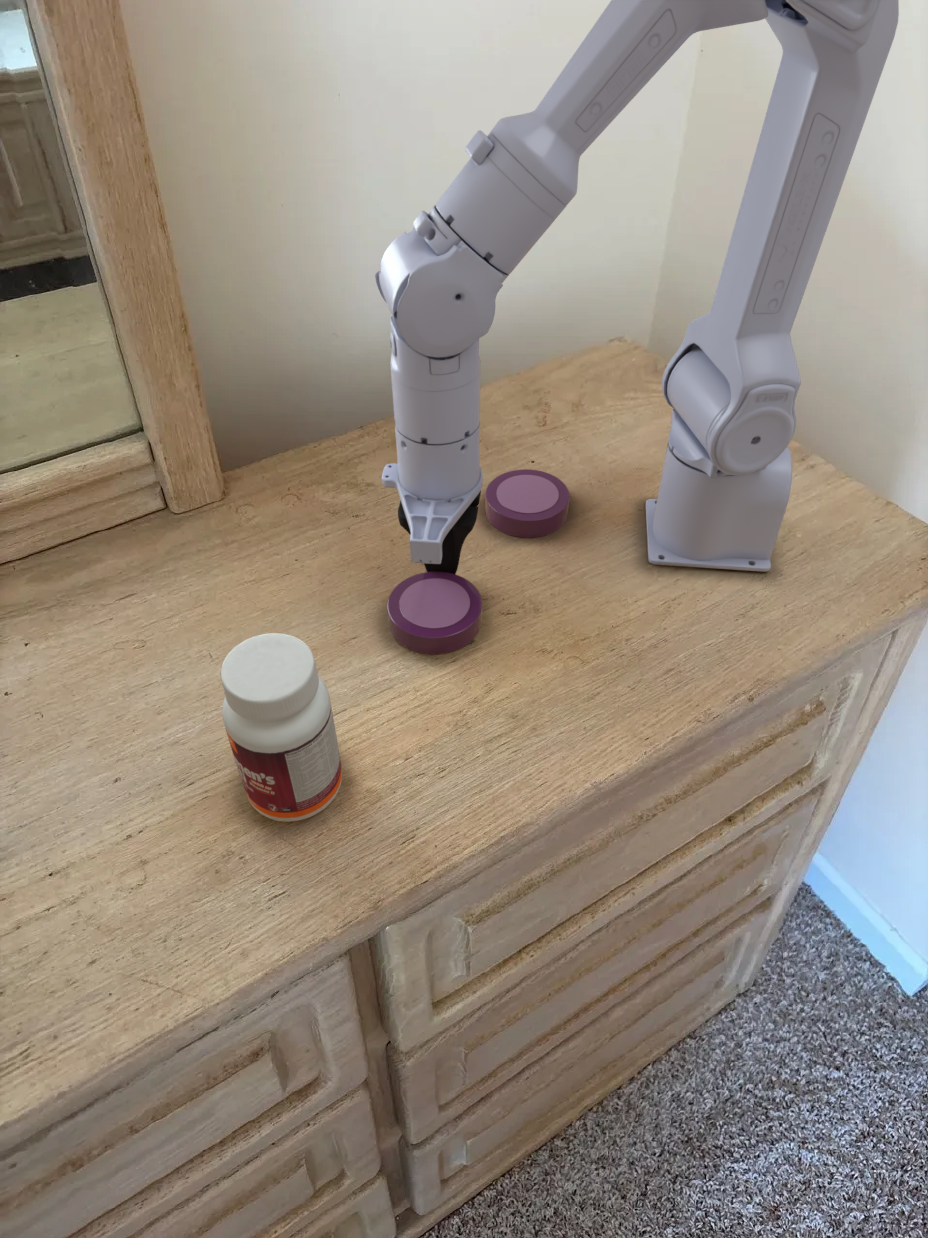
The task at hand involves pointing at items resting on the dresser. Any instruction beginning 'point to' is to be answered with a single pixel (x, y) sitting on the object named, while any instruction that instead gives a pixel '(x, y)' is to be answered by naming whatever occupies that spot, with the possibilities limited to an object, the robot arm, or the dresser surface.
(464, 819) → the dresser surface
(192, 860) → the dresser surface
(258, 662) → the pill bottle
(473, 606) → the purple disc
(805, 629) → the dresser surface
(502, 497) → the purple round puck
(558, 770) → the dresser surface
